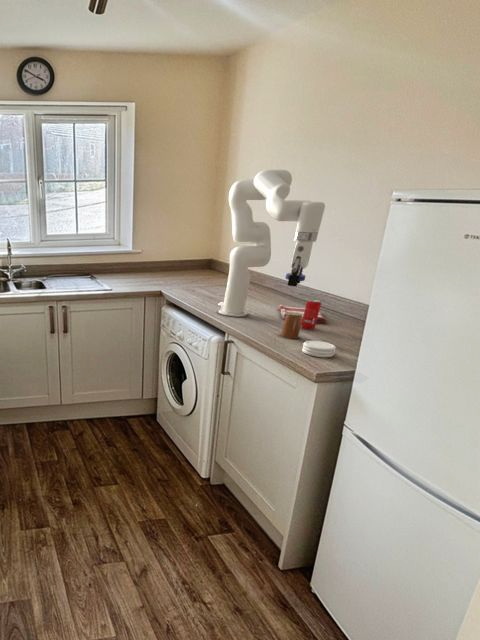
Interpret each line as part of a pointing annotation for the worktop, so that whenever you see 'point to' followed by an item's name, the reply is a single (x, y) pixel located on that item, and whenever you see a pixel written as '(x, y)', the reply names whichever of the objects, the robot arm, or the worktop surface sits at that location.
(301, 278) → the jam lid
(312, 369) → the worktop surface
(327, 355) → the coaster
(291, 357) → the worktop surface
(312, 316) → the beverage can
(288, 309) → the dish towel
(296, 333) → the jam jar
